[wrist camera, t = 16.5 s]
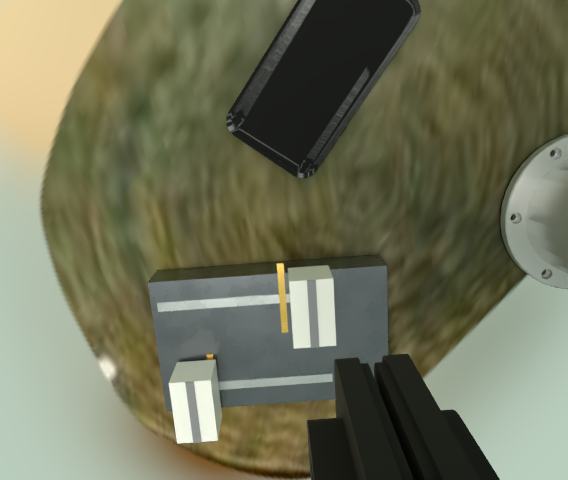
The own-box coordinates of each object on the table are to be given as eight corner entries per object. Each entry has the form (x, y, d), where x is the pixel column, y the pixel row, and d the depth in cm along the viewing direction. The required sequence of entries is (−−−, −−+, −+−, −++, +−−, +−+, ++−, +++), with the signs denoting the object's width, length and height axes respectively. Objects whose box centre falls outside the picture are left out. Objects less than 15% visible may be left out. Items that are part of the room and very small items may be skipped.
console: (378, 245, 38) (387, 255, 35) (380, 383, 41) (389, 404, 38) (155, 260, 38) (145, 273, 35) (175, 398, 41) (167, 420, 38)
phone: (220, 126, 35) (337, -64, 32) (221, 125, 36) (335, -58, 33) (307, 185, 36) (428, 7, 33) (306, 183, 37) (423, 11, 34)
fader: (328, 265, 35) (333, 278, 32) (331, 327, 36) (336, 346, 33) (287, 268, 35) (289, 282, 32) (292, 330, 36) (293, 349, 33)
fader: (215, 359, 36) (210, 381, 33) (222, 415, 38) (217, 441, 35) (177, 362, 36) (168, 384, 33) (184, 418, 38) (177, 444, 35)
